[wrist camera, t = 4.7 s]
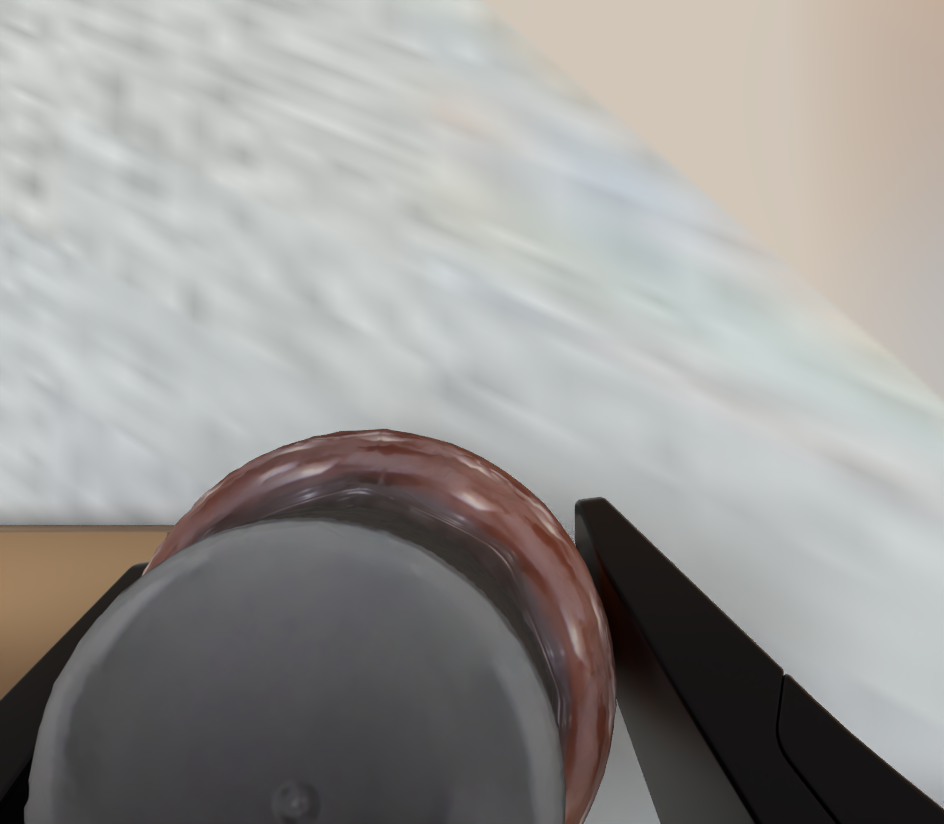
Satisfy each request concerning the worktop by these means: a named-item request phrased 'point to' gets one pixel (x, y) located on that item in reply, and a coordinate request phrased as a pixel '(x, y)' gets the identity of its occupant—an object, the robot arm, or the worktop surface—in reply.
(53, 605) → the walnut block
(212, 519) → the supplement bottle
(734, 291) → the worktop surface
